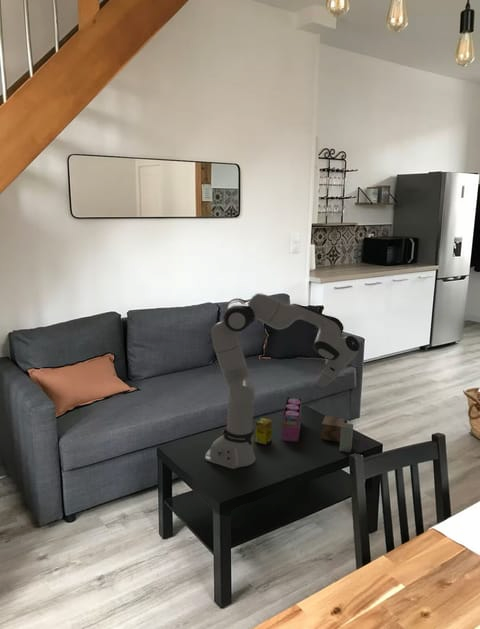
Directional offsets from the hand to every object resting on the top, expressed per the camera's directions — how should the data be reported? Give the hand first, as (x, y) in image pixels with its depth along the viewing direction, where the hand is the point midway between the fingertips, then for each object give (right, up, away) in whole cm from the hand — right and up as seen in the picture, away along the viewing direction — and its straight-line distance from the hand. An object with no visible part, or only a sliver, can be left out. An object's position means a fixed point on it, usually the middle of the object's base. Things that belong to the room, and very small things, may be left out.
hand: (324, 375), depth 233 cm
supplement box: (-27, -34, +12) cm, 45 cm away
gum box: (-12, -31, +24) cm, 41 cm away
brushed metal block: (+11, -35, +6) cm, 37 cm away
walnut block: (+8, -33, +20) cm, 39 cm away
